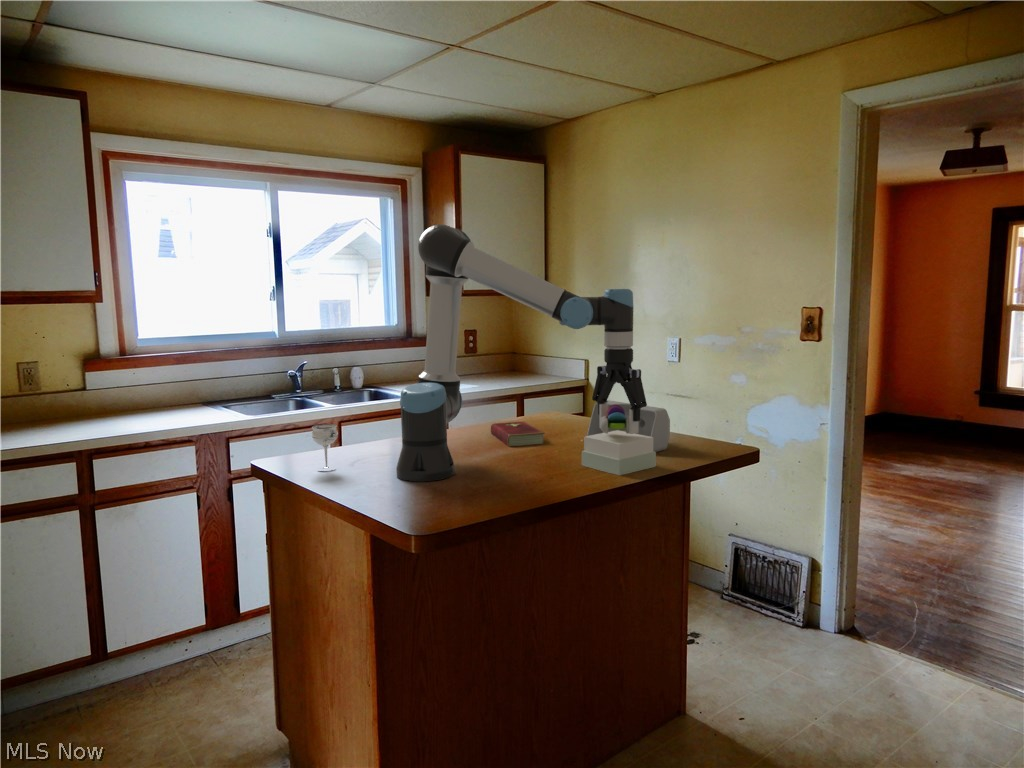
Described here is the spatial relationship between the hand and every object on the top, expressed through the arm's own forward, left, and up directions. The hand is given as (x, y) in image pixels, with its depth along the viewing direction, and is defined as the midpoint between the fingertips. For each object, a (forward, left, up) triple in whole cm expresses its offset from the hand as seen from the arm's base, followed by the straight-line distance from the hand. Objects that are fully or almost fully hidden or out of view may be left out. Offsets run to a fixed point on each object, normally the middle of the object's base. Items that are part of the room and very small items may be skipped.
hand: (618, 430), depth 186 cm
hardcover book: (+2, +47, -10) cm, 48 cm away
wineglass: (-62, +49, -10) cm, 80 cm away
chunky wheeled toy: (-1, 0, 0) cm, 1 cm away
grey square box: (0, 0, -10) cm, 10 cm away
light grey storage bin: (+23, +16, -10) cm, 30 cm away
